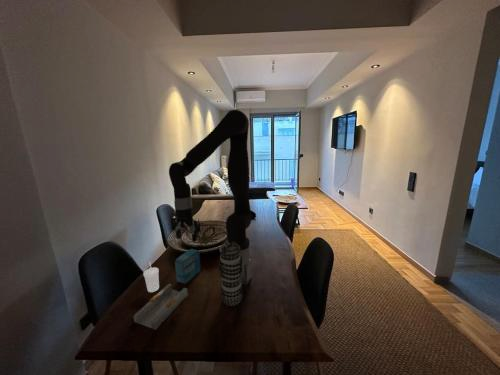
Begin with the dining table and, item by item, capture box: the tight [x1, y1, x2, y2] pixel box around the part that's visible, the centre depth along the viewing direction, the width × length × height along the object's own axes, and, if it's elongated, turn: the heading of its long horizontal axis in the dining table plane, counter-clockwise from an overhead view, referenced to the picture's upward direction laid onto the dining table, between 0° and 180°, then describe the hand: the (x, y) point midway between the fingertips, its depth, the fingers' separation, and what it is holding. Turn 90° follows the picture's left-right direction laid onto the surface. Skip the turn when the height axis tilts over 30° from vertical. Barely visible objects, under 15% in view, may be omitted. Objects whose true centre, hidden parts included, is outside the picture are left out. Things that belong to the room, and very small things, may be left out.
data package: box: [174, 248, 201, 285], centre depth 99 cm, size 12×4×12 cm, turn 155°
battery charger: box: [250, 209, 257, 220], centre depth 178 cm, size 13×10×4 cm
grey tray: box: [133, 283, 189, 331], centre depth 81 cm, size 10×18×4 cm, turn 160°
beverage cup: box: [142, 260, 160, 293], centre depth 90 cm, size 6×6×14 cm
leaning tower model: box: [218, 241, 244, 307], centre depth 82 cm, size 9×9×25 cm
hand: (186, 239), depth 96 cm, fingers open, 8 cm apart
